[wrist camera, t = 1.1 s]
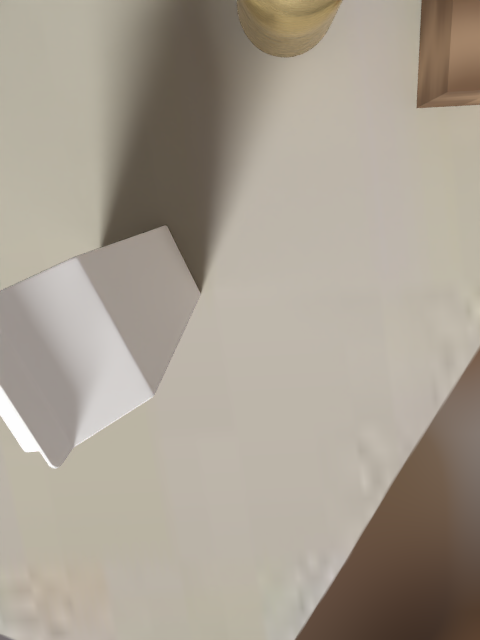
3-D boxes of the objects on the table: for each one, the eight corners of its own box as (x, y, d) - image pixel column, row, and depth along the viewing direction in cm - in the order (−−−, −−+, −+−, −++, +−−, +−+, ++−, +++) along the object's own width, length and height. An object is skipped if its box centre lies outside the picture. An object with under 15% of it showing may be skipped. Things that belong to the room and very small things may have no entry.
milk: (135, 324, 36) (-24, 509, 15) (97, 256, 35) (-136, 353, 14) (203, 293, 36) (136, 442, 14) (167, 222, 34) (34, 269, 13)
